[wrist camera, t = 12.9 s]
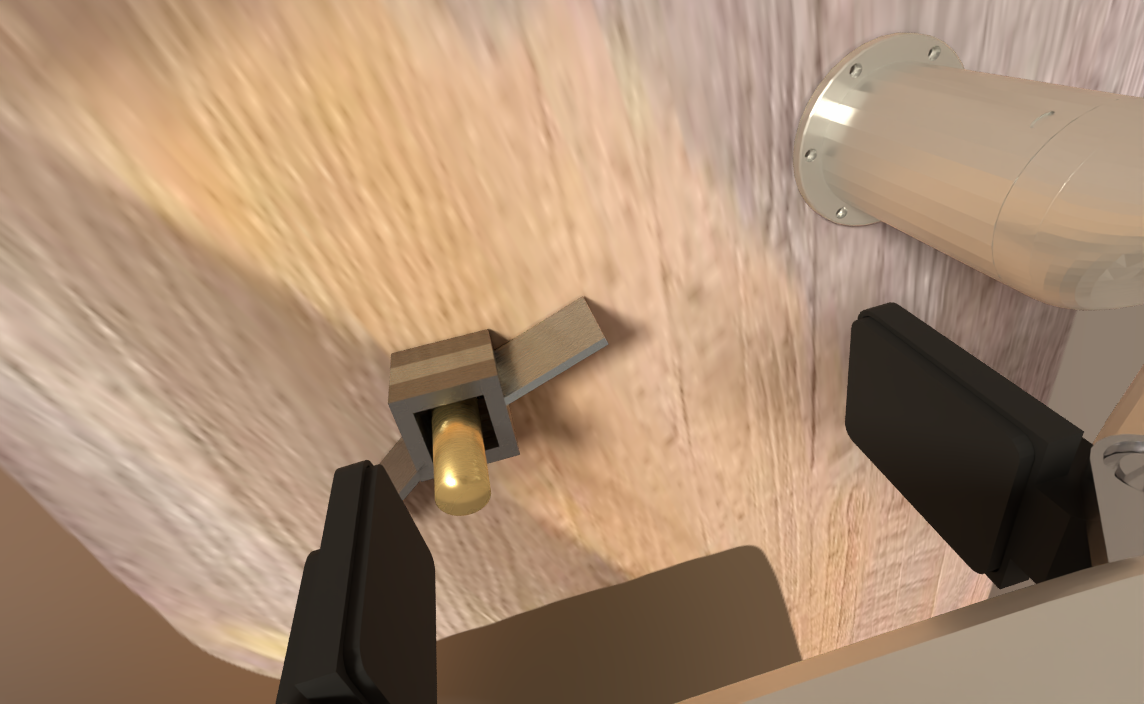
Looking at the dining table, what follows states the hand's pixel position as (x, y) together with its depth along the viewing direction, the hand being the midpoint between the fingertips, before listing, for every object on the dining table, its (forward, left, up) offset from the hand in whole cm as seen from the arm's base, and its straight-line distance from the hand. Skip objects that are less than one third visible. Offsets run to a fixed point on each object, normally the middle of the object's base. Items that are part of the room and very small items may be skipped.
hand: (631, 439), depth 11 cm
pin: (+7, +17, -29) cm, 34 cm away
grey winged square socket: (+6, +19, -29) cm, 35 cm away
